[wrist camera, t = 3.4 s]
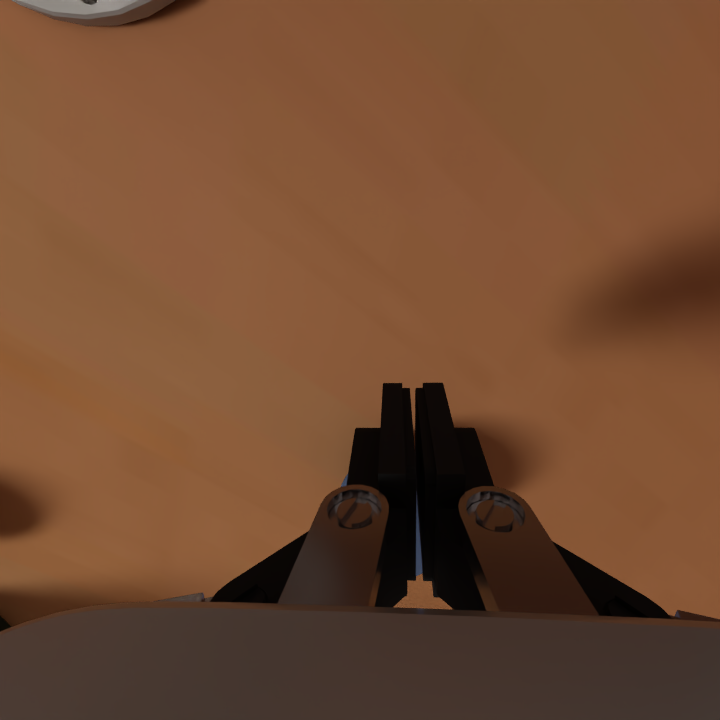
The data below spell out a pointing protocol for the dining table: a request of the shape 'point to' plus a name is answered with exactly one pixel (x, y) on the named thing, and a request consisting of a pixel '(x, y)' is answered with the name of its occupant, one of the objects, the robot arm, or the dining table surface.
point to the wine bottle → (3, 624)
